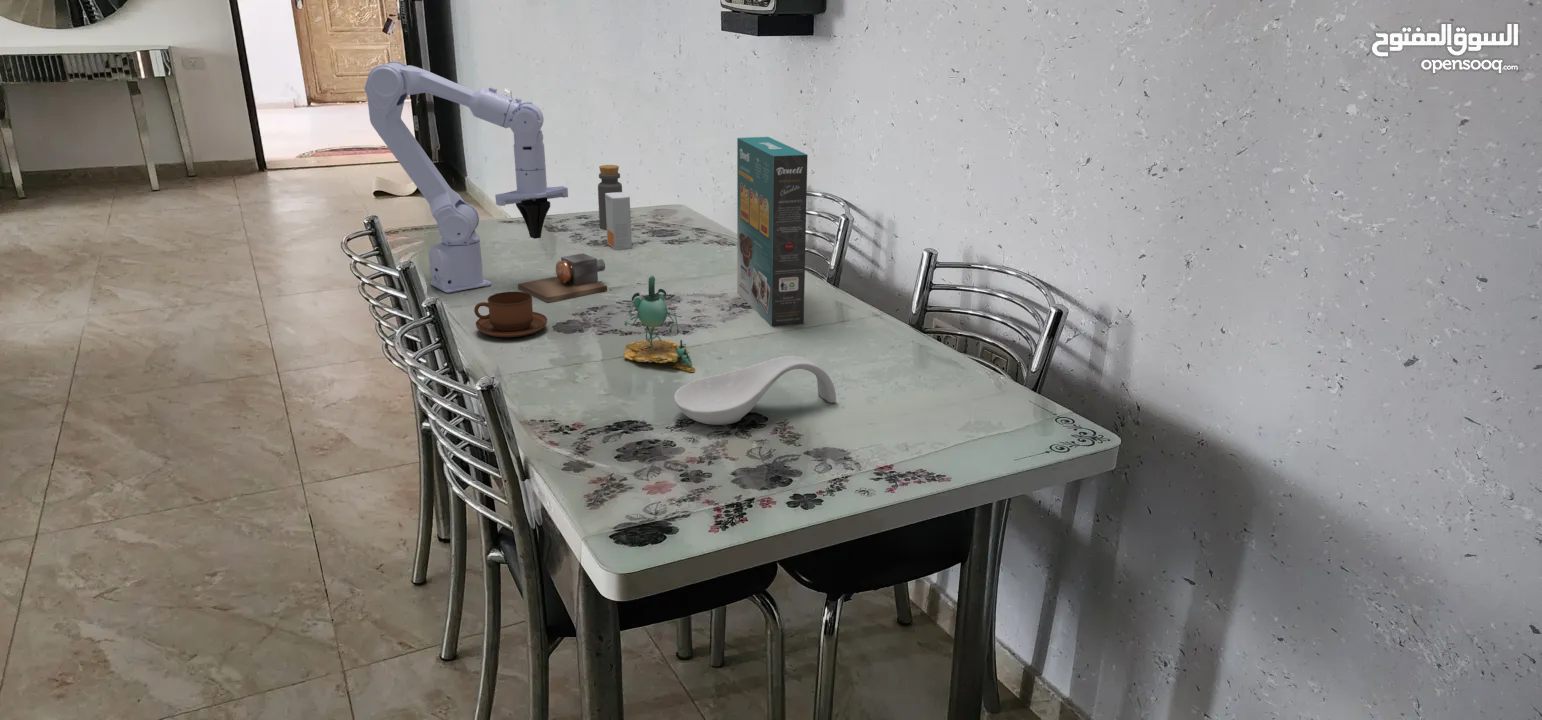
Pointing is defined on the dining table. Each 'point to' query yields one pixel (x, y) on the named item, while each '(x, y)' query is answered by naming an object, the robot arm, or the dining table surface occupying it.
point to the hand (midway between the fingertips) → (535, 237)
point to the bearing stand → (579, 285)
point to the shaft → (566, 273)
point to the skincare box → (618, 220)
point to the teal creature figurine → (653, 315)
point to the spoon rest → (742, 390)
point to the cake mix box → (771, 229)
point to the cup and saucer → (509, 315)
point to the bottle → (607, 189)
